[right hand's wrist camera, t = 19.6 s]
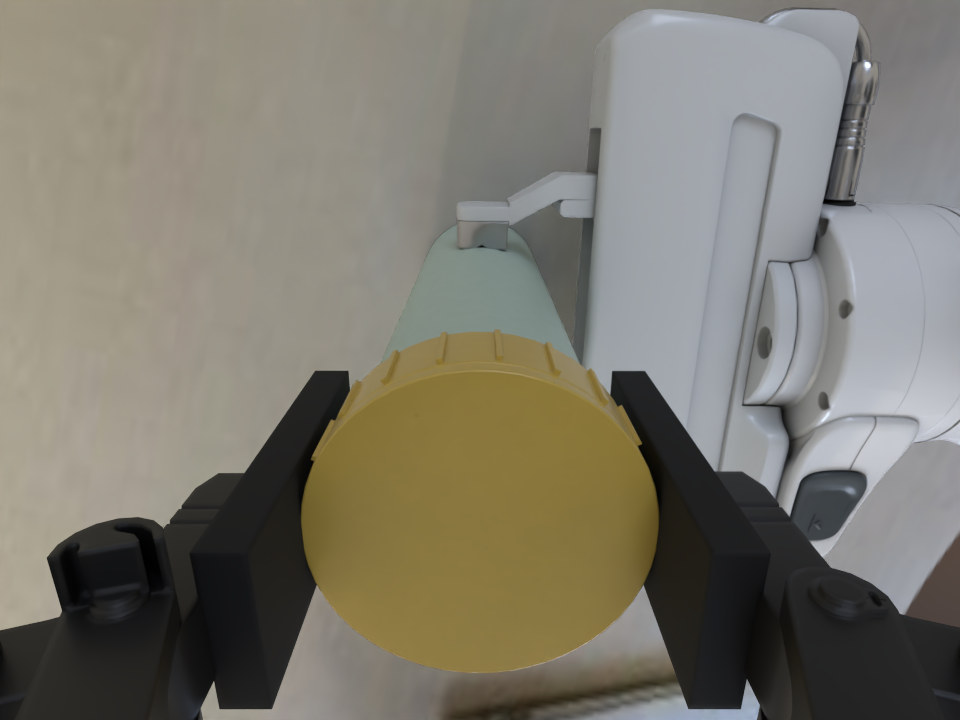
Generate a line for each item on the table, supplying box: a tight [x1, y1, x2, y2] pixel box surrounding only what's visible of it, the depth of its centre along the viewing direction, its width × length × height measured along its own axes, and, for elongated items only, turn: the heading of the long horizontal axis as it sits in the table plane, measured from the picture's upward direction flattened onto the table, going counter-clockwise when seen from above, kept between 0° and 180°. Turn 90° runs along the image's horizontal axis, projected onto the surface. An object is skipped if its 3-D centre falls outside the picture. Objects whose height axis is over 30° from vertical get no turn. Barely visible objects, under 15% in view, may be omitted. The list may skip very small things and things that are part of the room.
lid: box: [301, 329, 659, 673], centre depth 11 cm, size 6×6×2 cm
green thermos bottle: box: [381, 225, 580, 364], centre depth 20 cm, size 5×5×19 cm
